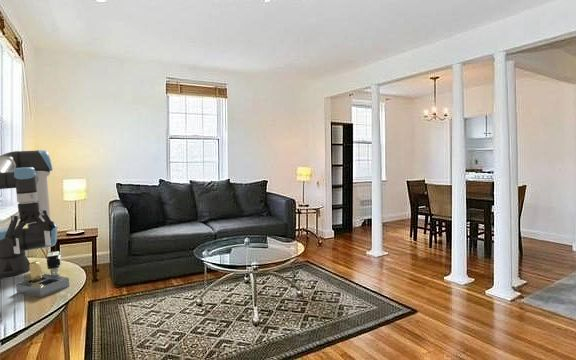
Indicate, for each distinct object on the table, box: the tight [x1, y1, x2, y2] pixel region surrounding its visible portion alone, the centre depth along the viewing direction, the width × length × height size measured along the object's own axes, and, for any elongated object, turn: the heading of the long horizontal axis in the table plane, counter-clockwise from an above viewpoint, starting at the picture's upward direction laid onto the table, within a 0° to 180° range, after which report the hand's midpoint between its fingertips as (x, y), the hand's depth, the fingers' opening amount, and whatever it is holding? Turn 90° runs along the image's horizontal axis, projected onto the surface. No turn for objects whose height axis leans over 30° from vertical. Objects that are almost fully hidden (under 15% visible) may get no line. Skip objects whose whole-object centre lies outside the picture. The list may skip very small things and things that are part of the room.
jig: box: [15, 273, 70, 298], centre depth 162 cm, size 16×13×4 cm
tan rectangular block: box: [29, 260, 43, 283], centre depth 163 cm, size 4×4×12 cm
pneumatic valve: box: [46, 250, 63, 276], centre depth 180 cm, size 6×12×12 cm, turn 28°
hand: (33, 248), depth 162 cm, fingers open, 13 cm apart
